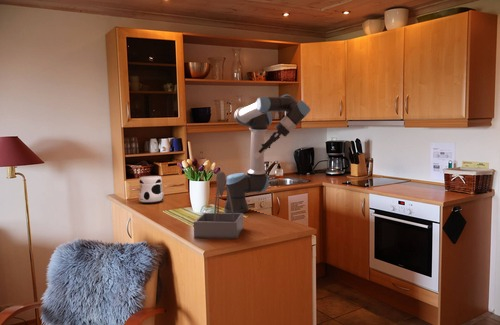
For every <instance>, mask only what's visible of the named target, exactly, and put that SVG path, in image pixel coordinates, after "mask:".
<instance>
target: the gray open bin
mask: <svg viewBox="0 0 500 325" xmlns="http://www.w3.org/2000/svg"><path fill="white" fill-rule="evenodd" d="M234 221H235V222H233V218H232V213H226V212H219V222H217V212H216V221H215V222H214V212H203V213H202V214H200V215H199V217H197V218H196V219H195V220H194V221H193V239H210V240H211V239H217V240H218V239H220V240H221V239H222V240H238V238H239V237H240V235H241V233H242V231H243V230H244V213H234Z"/></svg>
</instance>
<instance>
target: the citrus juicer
mask: <svg viewBox="0 0 500 325" xmlns="http://www.w3.org/2000/svg"><path fill="white" fill-rule="evenodd" d="M215 176H216V178H215V182H216V186H217V187H216V192H215V198H214V199H215V200H214V211H213V213H214V222H215V221H216V213H217V222H219V213H220V212H219V210H220V209H219V208H220V198H221V199H222V198H223V194H224V192H225V191H226V195H227V194H228V197H229V201H230V206H231V211H232V218H233V222H235V221H234V213H233V207H232V201H231V197H230V193H229V189H228V186H227V185H226V182H227V175H226V173H225V172H224V171H218V172H217V173H216V175H215Z"/></svg>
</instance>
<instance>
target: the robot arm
mask: <svg viewBox="0 0 500 325" xmlns="http://www.w3.org/2000/svg"><path fill="white" fill-rule="evenodd" d="M273 112H275V113H276V112H283V113H284V112H287V114H286V115H285V116H284V117H283V118H282V119H280V122H279V121H278V123H277V124H275V126H274V128H275V129H276V130H277V131H275V132H273V133H272V134H271V135H270V136H269V139H268V140H266V142H265V137H266V131H268V128H269V126H271V125H272V122H273V116H272V113H273ZM310 112H311V108H310V107H309V106H308V105H307V104H306V103H305V102H304V100H302V99H301V100H299V101H297V99H295V97H294V96H292V95H291V94H289V93H286V94H283V95H281V96H260V97H257V99H256V101H255V102H253V103H251V104H249V105H247V106H246V105H245V106H240V107H237V109H236V110H235V111H234V115H233V118H234V121H235V122H236V123H237V124H238V125H240V126H243V127H248V129H249V131H250V154H249V156H250V158H249V169H248V170H247V172H246V173H247V174H246V173H245V172H237V173H236V172H235V173H231V174H229V175H226V183H225V185H226V186H228V189H229V193H230V197H231V201H232V207H233V213H243V214H244V213H247V212H249V205H248V202H247V200H246V194H247V195H248V194H255V193H256V194H257V193H258V194H260V193H263V192H264V193H265V191H267V189H268V187H269V184H270V179H269V175H268V174H267V172H266V171H265V170H264V166H265V165H264V164H265V152H266V151H267V150H268V149H270V148H271V145H273V143H275V142H276V141H278V140H279V139H280V138H281V135H282V136H283V137H287V136H288V135H289V134H290V132H291V131H293V130H296V127H297V126H298V124H299V123H300V122H302V120H303V119H305V117H307V115H308V114H309V113H310ZM223 208H224V210H223V211H224V212H223V213H232V211H231V206H230V201H229V197H228V194H227V193H226V201H225V205H224V207H223Z"/></svg>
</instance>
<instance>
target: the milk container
mask: <svg viewBox="0 0 500 325" xmlns="http://www.w3.org/2000/svg"><path fill="white" fill-rule="evenodd" d="M138 181H139V182H138V184H139V191H138V192H139V193H138V200H139V202H140V203H142V204H157V203H160V202H161V203H162V202H163V201H164V198H165V193H164V191H163V190H164V189H163V178H162V176H161V175H144V176H140V177H139V180H138Z"/></svg>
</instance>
